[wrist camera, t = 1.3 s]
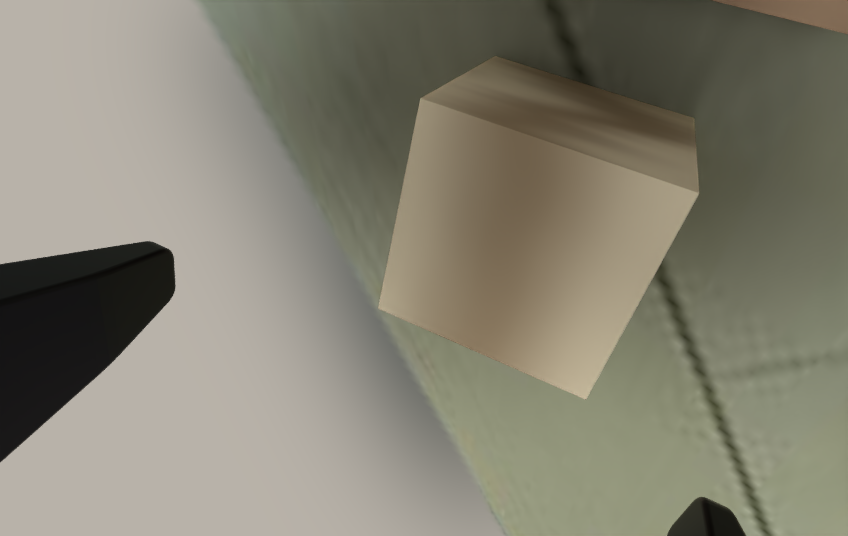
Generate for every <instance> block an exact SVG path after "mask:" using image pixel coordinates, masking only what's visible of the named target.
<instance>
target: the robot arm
mask: <svg viewBox="0 0 848 536" xmlns="http://www.w3.org/2000/svg"><path fill="white" fill-rule="evenodd" d="M174 291H175V271H174V257H173V254H172V252H171V251H170V250H169V249H167V248H165V247H163V246H161V245H158V244H156V243H154V242H150V241H146V242H139V243H133V244H126V245H120V246H113V247H107V248H101V249H94V250H88V251H82V252H75V253H69V254H63V255H57V256H50V257H43V258H37V259H31V260H24V261H19V262H12V263H5V264H0V462H1V461H2V460H3V459H5V458H6V457H7V456H8V455H9V454H10V453H11V452H12V451H14V450H15V449H16V448H17V447H18V446H19V445H21V444H22V443H23V442H24V441H25V440H26V439H27V438H28V437H30V435H32V434H33V433H34V432H35V431H36V430H37V429H39V428H40V427H41V426H42V425H43V424H44V423H45V422H46V421H48V420H49V419H50V418H51V417H52V416H53V415H54V414H55V413H57V411H59V410H60V409H61V408H62V407H63V406H64V405H66V404H67V403H68V402H69V401H70V400H71V399H72V398H73V397H74V396H75V395H77V394H78V393H79V392H80V391H81V390H82V389H84V388H85V387H86V386H87V385H88V384H89V383H90V382H91V381H92V380H94V379H95V378H96V377H97V376H98V375H99V374H100V373H101V372H102V371H104V370H105V369H106V368H107V367H108V366H109V365H110V364H111V363H112V362H113V361H114V360H115V359H116V358H117V357H118V356H119V355H120V354H121V353H122V352H123V350H124V349H125V348H126V347H127V346H128V345H129V344H130V343H131V342H132V341H133V340H134V339H135V338H136V337H137V335H138V334H139V333H140V332H141V331H142V330H143V329H144V328H145V327H146V326H147V325H148V323H150V321H151V320H152V319H153V318H154V317H155V316H156V315H157V314H158V313H159V312H160V311H161V310H162V308H163V307H164V306H165V305H166V304H167V303H168V302H169V301H170V299H171V298H172V296H173V294H174ZM667 536H746V535H745V533H744V531H743V529H742V527H741V526H740V524H739V522H738V520H737V518H736V517H735V515H734V514H733V512H732V511H731V510H730V509H728V508H727V507H725V506H723V505H720V504H718V503H716V502H714V501H712V500H710V499H708V498H705V497H699V498H697V499H695V500H694V501H693V502H692V503H691V504H690V506H689V507H688V508H687V509H686V510H685V511H684V512H683V514H682V515H681V516H680V517H679V518H678V519H677V521H676V522H675V523H674V524H673V525H672V527H671V528H670V530H669V532H668V535H667Z"/></svg>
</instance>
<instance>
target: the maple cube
mask: <svg viewBox="0 0 848 536" xmlns="http://www.w3.org/2000/svg"><path fill="white" fill-rule="evenodd" d="M698 195H699V181H698V166H697V152H696V137H695V122H694V118H692V117H689V116H685V115H682V114H679V113H676V112H673V111H669V110H666V109H663V108H660V107H657V106H654V105H650V104H647V103H644V102H641V101H638V100H634V99H631V98H628V97H625V96H622V95H618V94H615V93H612V92H609V91H606V90H602V89H599V88H596V87H593V86H590V85H586V84H583V83H580V82H577V81H574V80H570V79H567V78H564V77H561V76H558V75H554V74H551V73H548V72H545V71H542V70H538V69H535V68H532V67H529V66H526V65H522V64H519V63H516V62H513V61H510V60H506V59H503V58H500V57H497V56H494V57H492V58H491V59H489V60H487V61H485V62H484V63H482V64H480V65H478V66H476V67H475V68H473V69H471V70H469V71H468V72H466V73H464V74H462V75H461V76H459V77H457V78H455V79H453V80H452V81H450V82H448V83H446V84H445V85H443V86H441V87H439V88H438V89H436V90H434V91H432V92H430V93H429V94H427V95H425V96H423V97H422V98H420V102H419V107H418V112H417V117H416V122H415V127H414V132H413V137H412V142H411V147H410V152H409V157H408V162H407V167H406V172H405V177H404V182H403V187H402V192H401V197H400V202H399V207H398V212H397V217H396V222H395V227H394V232H393V237H392V242H391V247H390V252H389V256H388V261H387V266H386V271H385V276H384V281H383V286H382V291H381V296H380V301H379V306H378V309H380V310H382V311H385V312H387V313H389V314H392V315H394V316H396V317H398V318H401V319H403V320H405V321H408V322H410V323H412V324H414V325H417V326H419V327H421V328H423V329H426V330H428V331H430V332H433V333H435V334H437V335H439V336H442V337H444V338H446V339H449V340H451V341H453V342H455V343H458V344H460V345H462V346H465V347H467V348H469V349H471V350H474V351H476V352H478V353H481V354H483V355H485V356H487V357H490V358H492V359H494V360H496V361H499V362H501V363H503V364H506V365H508V366H510V367H512V368H515V369H517V370H519V371H522V372H524V373H526V374H528V375H531V376H533V377H535V378H538V379H540V380H542V381H544V382H547V383H549V384H551V385H553V386H556V387H558V388H560V389H563V390H565V391H567V392H569V393H572V394H574V395H576V396H579V397H581V398H583V399H585V400H586V399H587V397H588V395H589V393H590V391H591V390H592V388H593V386H594V384H595V382H596V381H597V379H598V377H599V375H600V373H601V371H602V370H603V368H604V366H605V364H606V362H607V361H608V359H609V357H610V355H611V353H612V351H613V350H614V348H615V346H616V344H617V342H618V341H619V339H620V337H621V335H622V333H623V331H624V330H625V328H626V326H627V324H628V322H629V320H630V319H631V317H632V315H633V313H634V311H635V310H636V308H637V306H638V304H639V302H640V300H641V299H642V297H643V295H644V293H645V291H646V290H647V288H648V286H649V284H650V282H651V280H652V279H653V277H654V275H655V273H656V271H657V270H658V268H659V266H660V264H661V262H662V260H663V259H664V257H665V255H666V253H667V251H668V249H669V248H670V246H671V244H672V242H673V240H674V239H675V237H676V235H677V233H678V231H679V229H680V228H681V226H682V224H683V222H684V220H685V219H686V217H687V215H688V213H689V211H690V209H691V208H692V206H693V204H694V202H695V200H696V199H697V197H698Z"/></svg>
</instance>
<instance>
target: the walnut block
mask: <svg viewBox="0 0 848 536" xmlns="http://www.w3.org/2000/svg"><path fill="white" fill-rule="evenodd" d="M712 1H716V2H720V3H724V4H728V5H732V6H736V7H740V8H744V9H749V10H753V11H757V12H761V13H765V14H769V15H773V16H777V17H781V18H785V19H789V20H793V21H797V22H801V23H805V24H809V25H813V26H817V27H821V28H825V29H829V30H833V31H837V32H841V33H845V34H848V0H712Z"/></svg>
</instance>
